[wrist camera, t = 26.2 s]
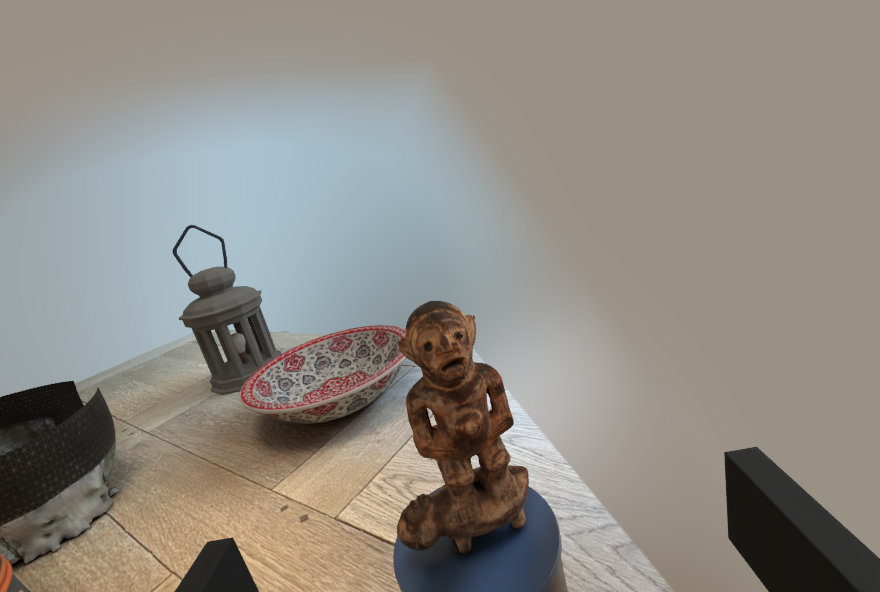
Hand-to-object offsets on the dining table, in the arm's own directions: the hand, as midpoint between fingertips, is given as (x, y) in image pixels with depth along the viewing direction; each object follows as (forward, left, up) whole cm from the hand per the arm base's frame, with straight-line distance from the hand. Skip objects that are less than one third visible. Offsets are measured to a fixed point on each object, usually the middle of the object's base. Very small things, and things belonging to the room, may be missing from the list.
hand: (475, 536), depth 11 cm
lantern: (+79, -48, -25) cm, 96 cm away
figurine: (+7, -10, -13) cm, 17 cm away
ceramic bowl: (+45, -40, -25) cm, 65 cm away
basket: (+79, -7, -25) cm, 83 cm away
